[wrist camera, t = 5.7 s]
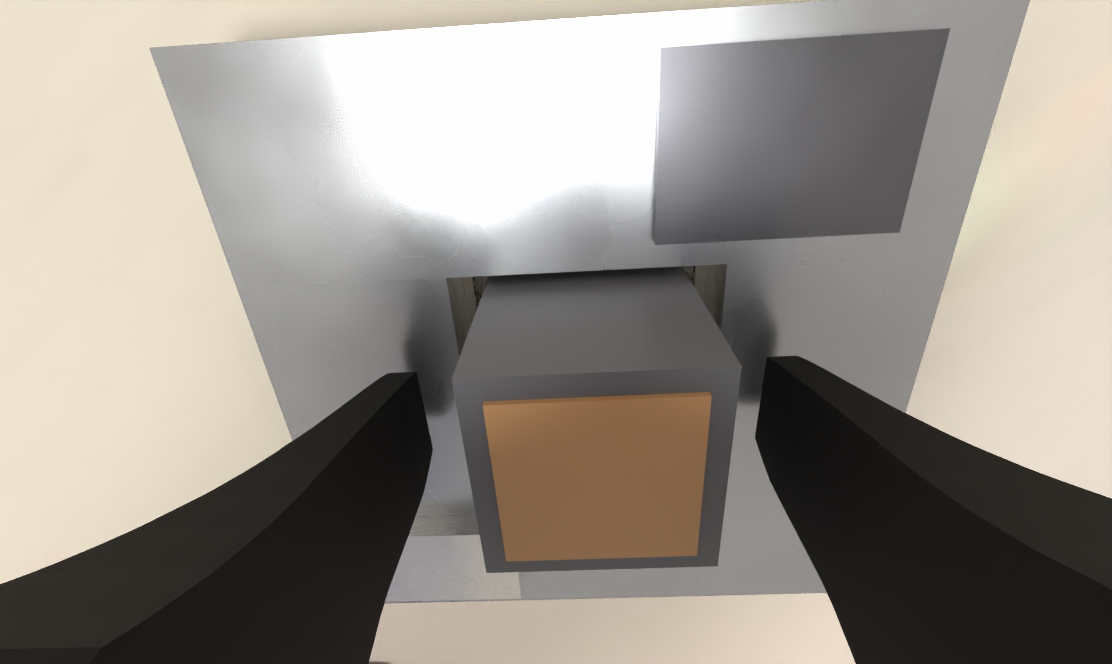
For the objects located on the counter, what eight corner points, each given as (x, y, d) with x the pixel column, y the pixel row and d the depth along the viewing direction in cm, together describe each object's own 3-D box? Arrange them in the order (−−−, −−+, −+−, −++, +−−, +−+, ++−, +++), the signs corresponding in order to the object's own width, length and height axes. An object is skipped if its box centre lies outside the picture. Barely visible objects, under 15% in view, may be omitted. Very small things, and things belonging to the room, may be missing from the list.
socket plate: (812, 521, 16) (862, 612, 14) (379, 534, 17) (344, 624, 14) (930, 4, 10) (1068, -21, 7) (236, 52, 11) (120, 46, 8)
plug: (659, 378, 14) (718, 571, 9) (515, 385, 14) (486, 578, 9) (665, 237, 12) (743, 369, 7) (499, 246, 13) (450, 382, 7)
